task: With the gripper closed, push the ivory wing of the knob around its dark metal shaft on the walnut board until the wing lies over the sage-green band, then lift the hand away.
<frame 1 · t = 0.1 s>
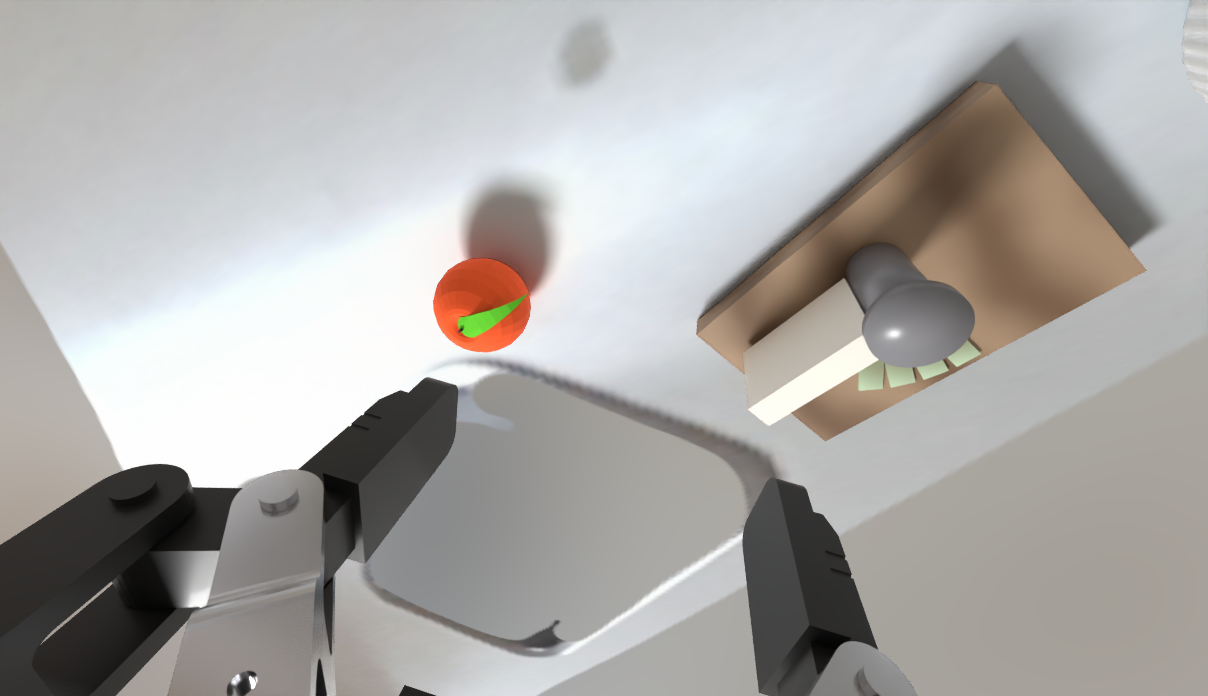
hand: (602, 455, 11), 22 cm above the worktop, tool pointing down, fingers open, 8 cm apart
clementine: (507, 281, 36), on the worktop
board: (880, 292, 30), on the worktop
knob: (834, 335, 26), point 6 cm above the worktop, hinge at 0.0°
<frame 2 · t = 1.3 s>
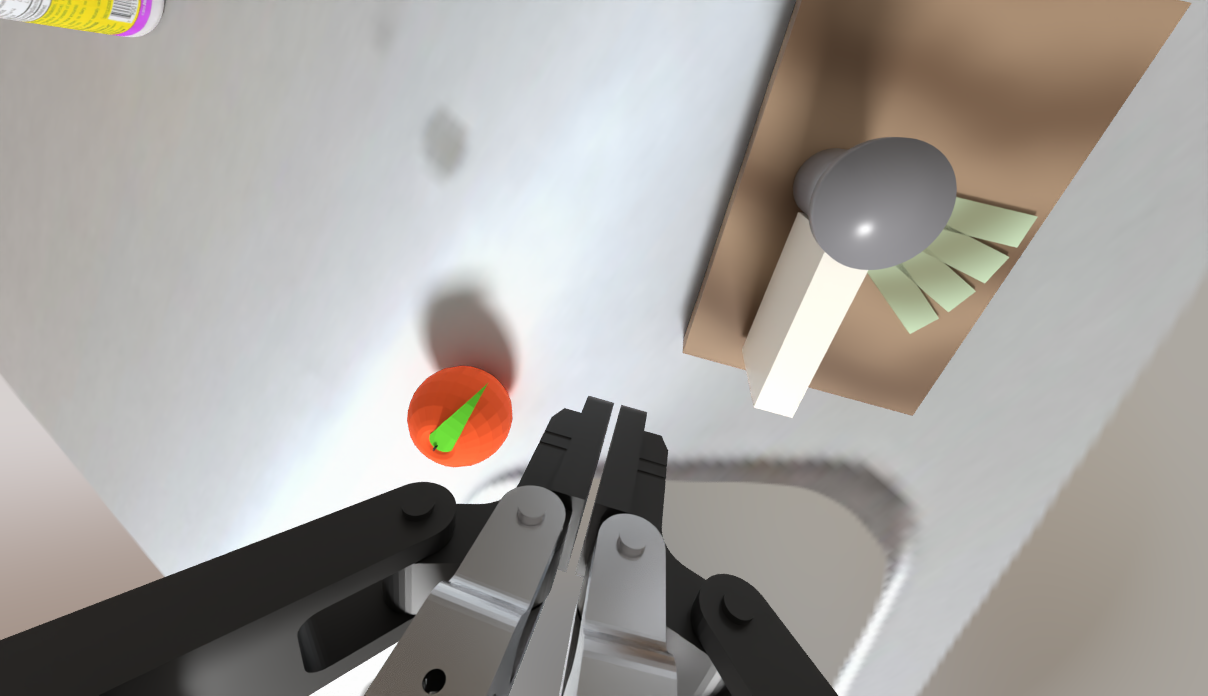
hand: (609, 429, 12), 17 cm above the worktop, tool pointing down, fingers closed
clementine: (487, 383, 34), on the worktop
board: (864, 212, 24), on the worktop
knob: (813, 276, 20), point 6 cm above the worktop, hinge at 0.0°
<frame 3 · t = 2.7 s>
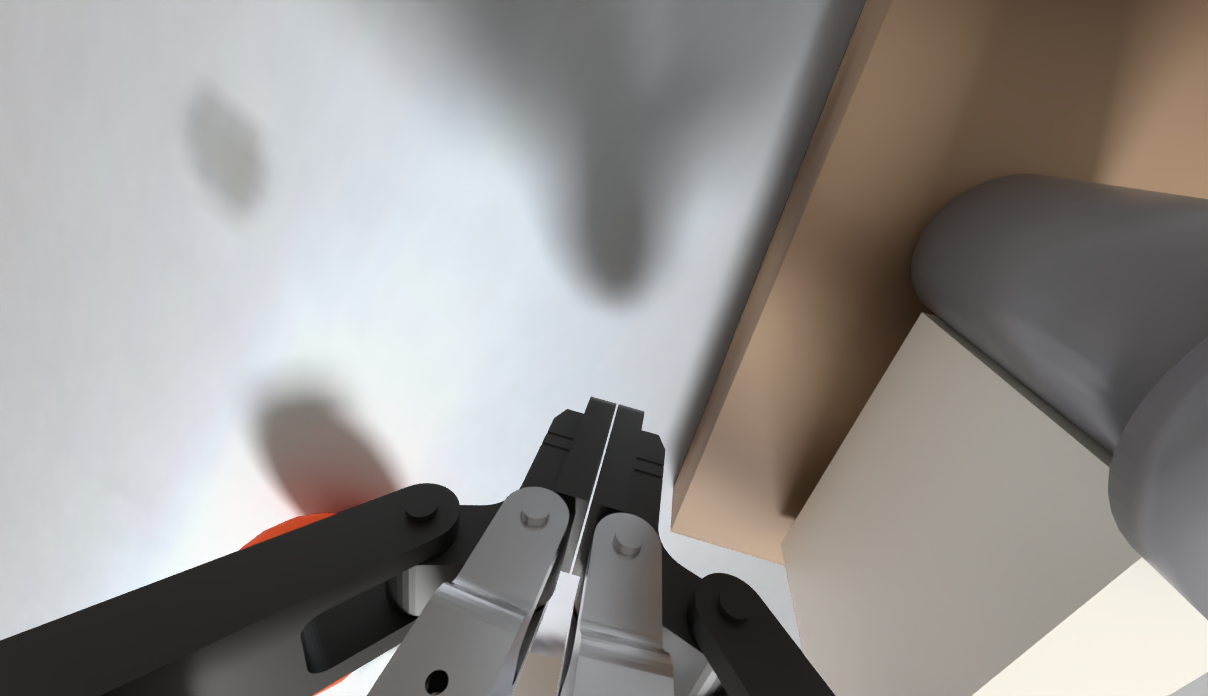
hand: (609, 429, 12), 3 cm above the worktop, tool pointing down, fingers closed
clementine: (369, 525, 22), on the worktop
board: (1036, 296, 12), on the worktop
knob: (988, 498, 8), point 6 cm above the worktop, hinge at 0.0°
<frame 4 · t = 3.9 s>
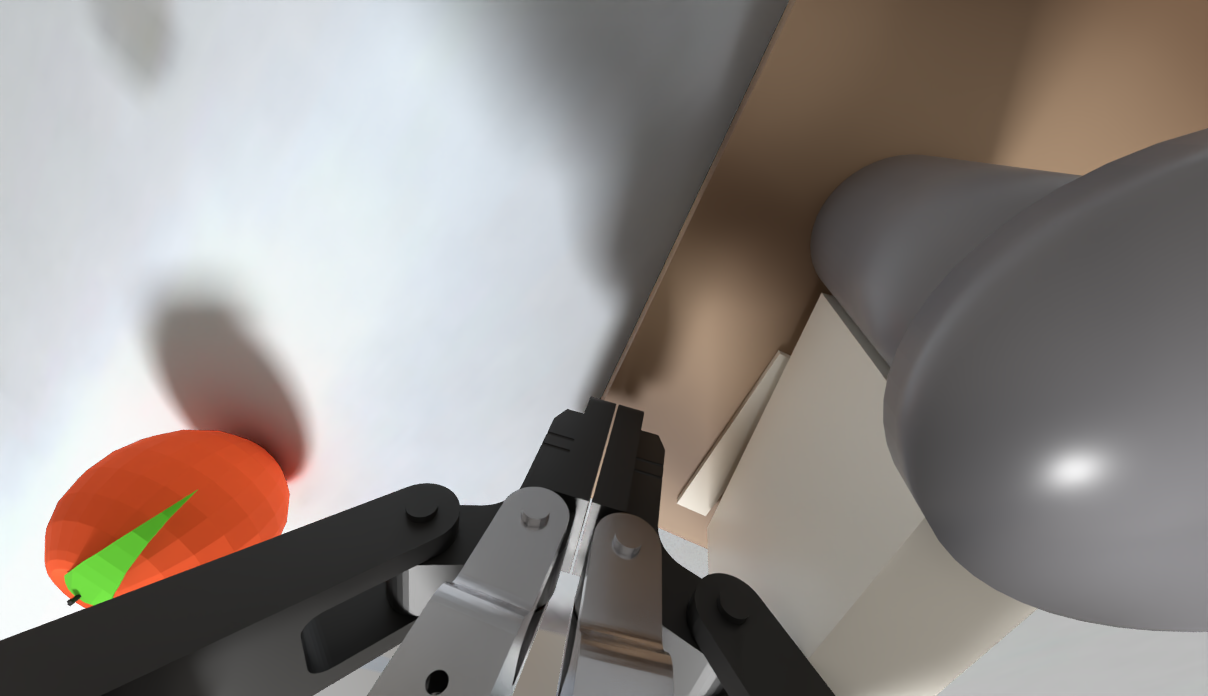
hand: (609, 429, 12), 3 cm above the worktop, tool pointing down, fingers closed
clementine: (267, 452, 21), on the worktop
board: (934, 295, 12), on the worktop
knob: (861, 471, 8), point 6 cm above the worktop, hinge at 8.9°, touching hand
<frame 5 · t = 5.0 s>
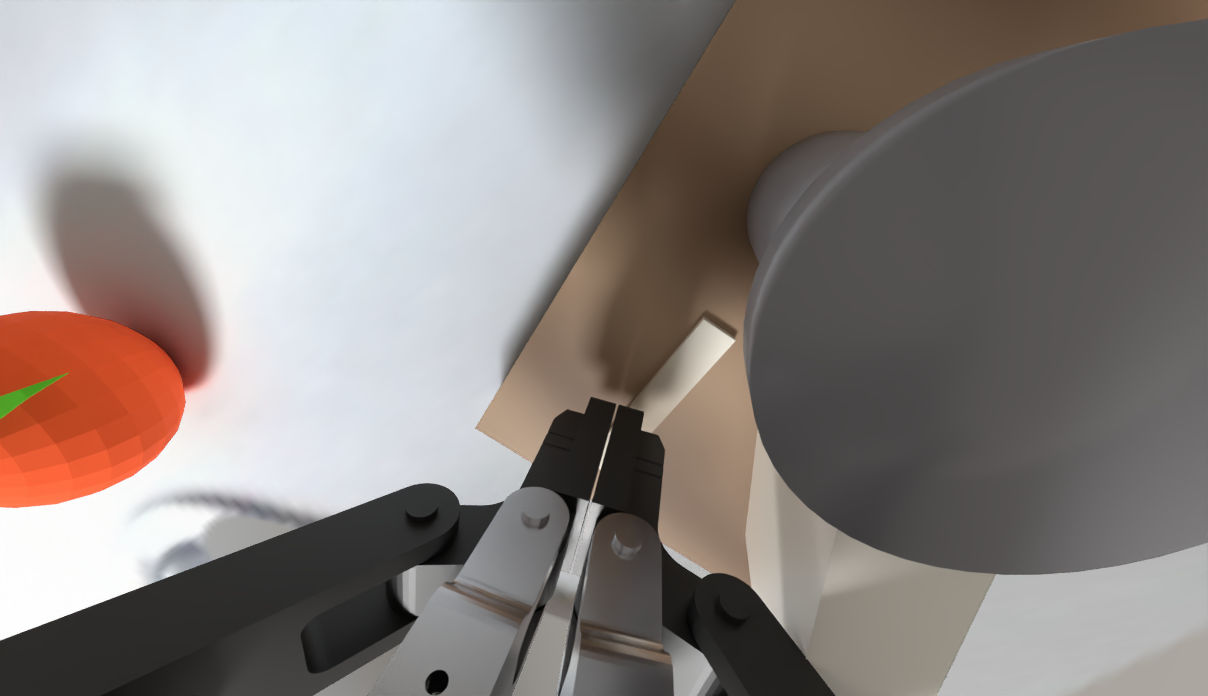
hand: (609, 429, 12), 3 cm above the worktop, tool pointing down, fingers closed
clementine: (167, 354, 19), on the worktop
board: (861, 291, 12), on the worktop
knob: (839, 453, 8), point 6 cm above the worktop, hinge at 35.2°, touching hand
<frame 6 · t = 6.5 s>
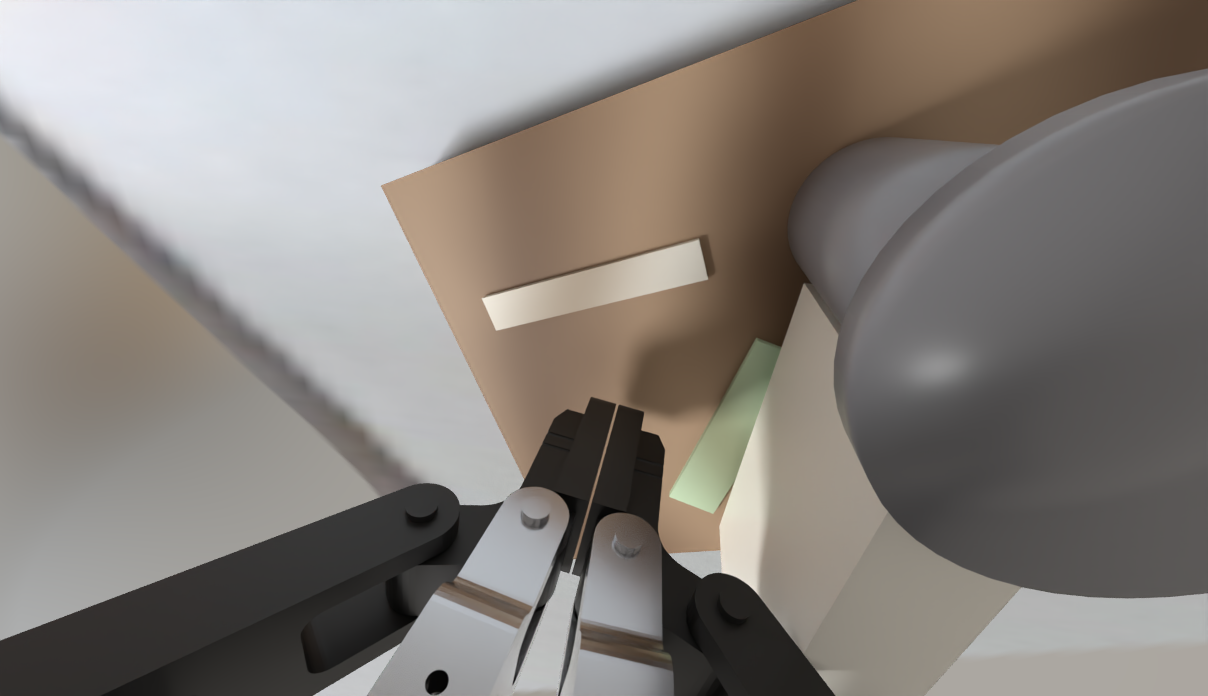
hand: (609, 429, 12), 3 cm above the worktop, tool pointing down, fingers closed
board: (811, 315, 13), on the worktop
knob: (852, 458, 8), point 6 cm above the worktop, hinge at 65.0°, touching hand
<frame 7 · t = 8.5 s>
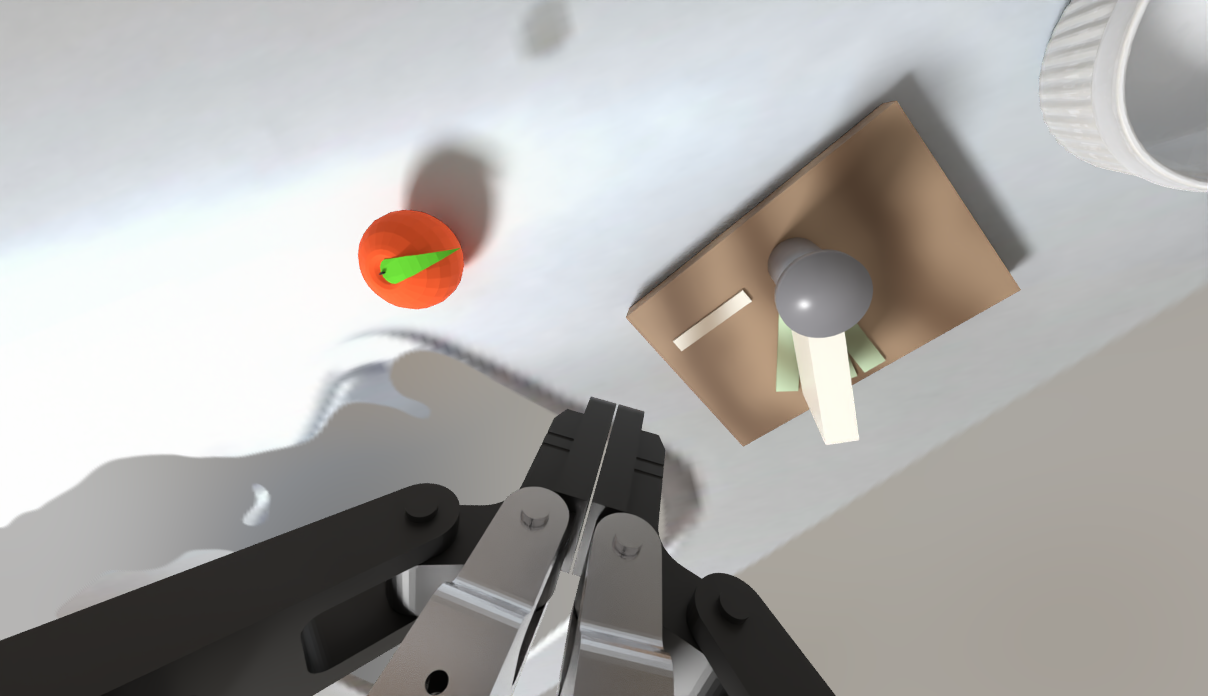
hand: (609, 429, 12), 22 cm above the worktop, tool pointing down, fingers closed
clementine: (444, 247, 35), on the worktop
ramekin: (1156, 48, 23), on the worktop
board: (799, 295, 31), on the worktop
knob: (816, 335, 27), point 6 cm above the worktop, hinge at 65.3°
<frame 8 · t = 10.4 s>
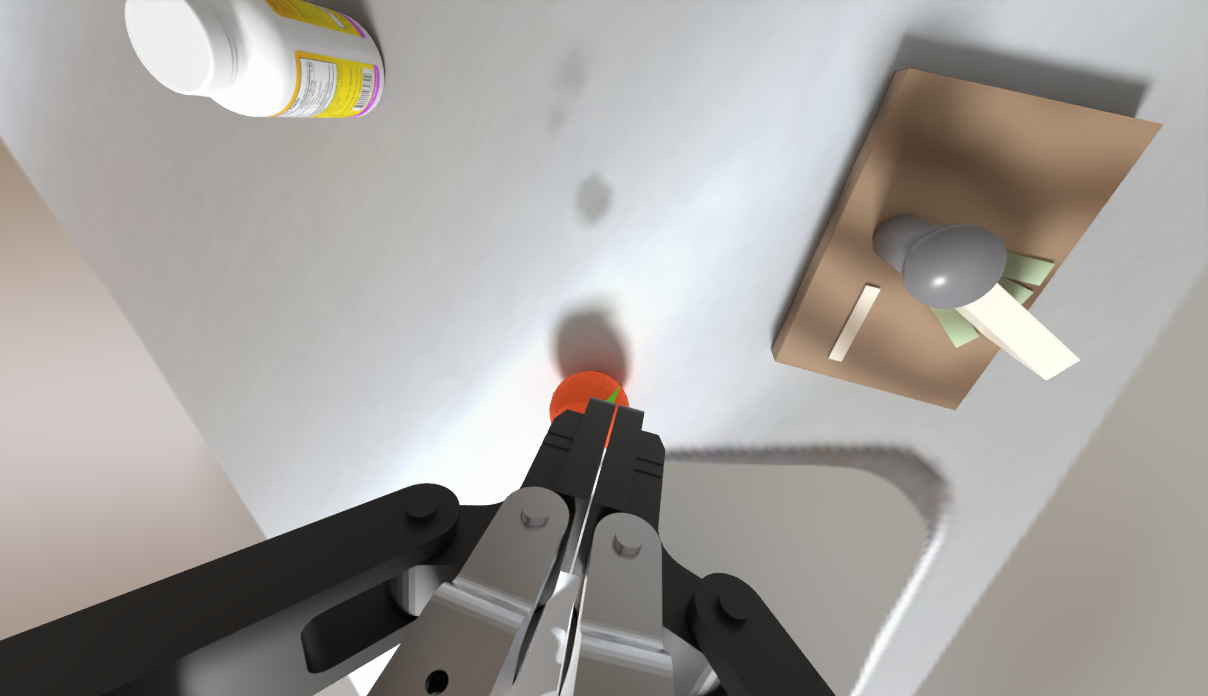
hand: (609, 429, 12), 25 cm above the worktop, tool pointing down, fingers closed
clementine: (601, 385, 42), on the worktop
supplement bottle: (349, 68, 33), on the worktop
board: (922, 255, 32), on the worktop
knob: (966, 290, 27), point 6 cm above the worktop, hinge at 65.3°
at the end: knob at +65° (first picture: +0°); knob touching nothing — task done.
